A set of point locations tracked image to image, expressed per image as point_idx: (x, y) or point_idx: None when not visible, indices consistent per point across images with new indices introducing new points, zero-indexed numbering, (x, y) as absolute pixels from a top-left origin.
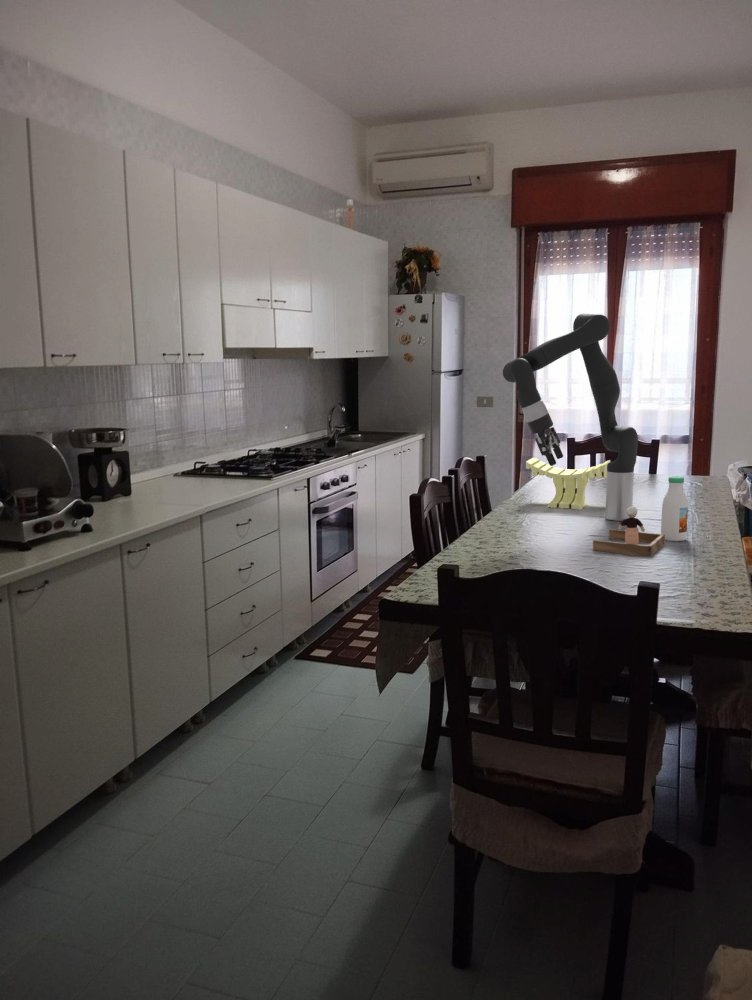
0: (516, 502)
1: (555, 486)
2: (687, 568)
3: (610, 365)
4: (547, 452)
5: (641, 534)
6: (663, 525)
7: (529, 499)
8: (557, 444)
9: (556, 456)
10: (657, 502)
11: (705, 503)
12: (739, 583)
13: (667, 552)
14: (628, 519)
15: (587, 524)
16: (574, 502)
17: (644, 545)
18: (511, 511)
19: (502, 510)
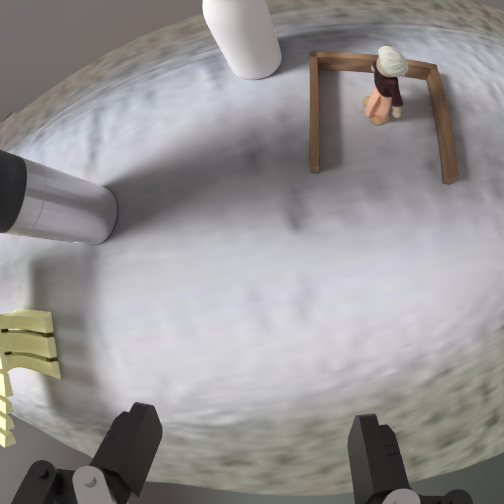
0: (56, 430)
1: (7, 370)
2: (458, 35)
3: None
4: (466, 499)
5: (318, 92)
6: (268, 53)
7: (33, 407)
8: (111, 497)
9: (156, 447)
10: None
11: (9, 139)
12: (473, 3)
13: None
14: (397, 80)
15: (168, 268)
16: (36, 328)
17: (436, 74)
18: None
19: None
